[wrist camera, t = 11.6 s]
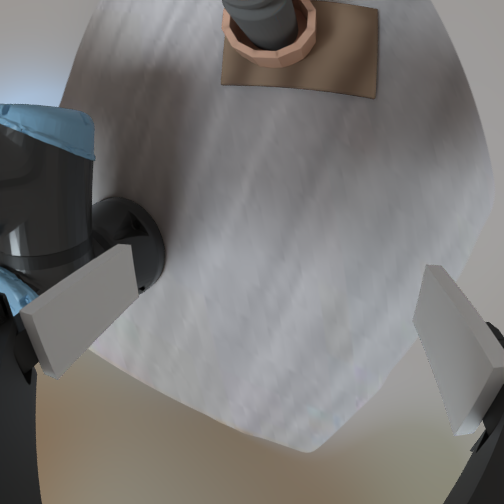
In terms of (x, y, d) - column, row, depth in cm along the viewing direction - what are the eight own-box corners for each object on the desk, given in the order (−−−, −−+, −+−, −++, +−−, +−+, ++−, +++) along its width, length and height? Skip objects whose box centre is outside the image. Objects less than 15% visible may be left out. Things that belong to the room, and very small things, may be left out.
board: (223, 85, 34) (220, 84, 33) (230, 2, 30) (228, -1, 29) (373, 99, 31) (375, 98, 30) (376, 12, 27) (377, 9, 26)
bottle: (269, 2, 28) (236, -64, 14) (309, 27, 28) (298, -37, 14) (238, 35, 30) (188, -17, 16) (277, 61, 30) (246, 13, 17)
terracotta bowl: (231, 67, 32) (218, 57, 28) (237, 0, 29) (226, -17, 24) (314, 71, 31) (313, 60, 26) (317, 1, 27) (316, -16, 22)
